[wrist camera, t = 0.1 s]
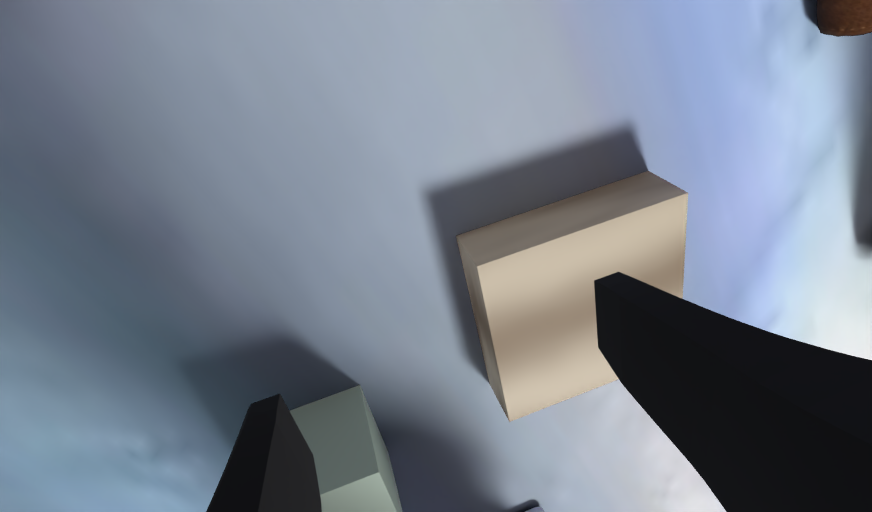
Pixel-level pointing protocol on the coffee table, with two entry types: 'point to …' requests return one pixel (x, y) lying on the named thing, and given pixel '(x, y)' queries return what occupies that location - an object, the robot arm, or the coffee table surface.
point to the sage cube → (348, 454)
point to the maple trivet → (566, 284)
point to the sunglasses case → (844, 17)
